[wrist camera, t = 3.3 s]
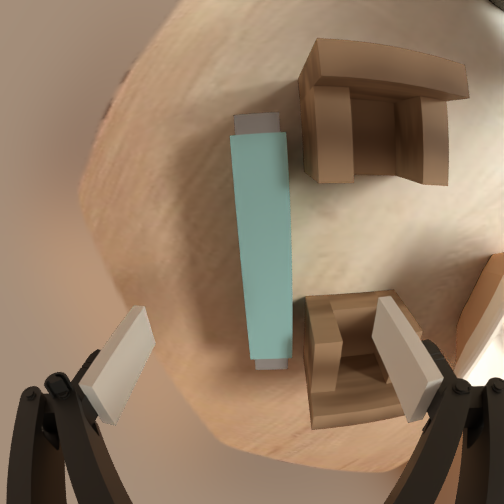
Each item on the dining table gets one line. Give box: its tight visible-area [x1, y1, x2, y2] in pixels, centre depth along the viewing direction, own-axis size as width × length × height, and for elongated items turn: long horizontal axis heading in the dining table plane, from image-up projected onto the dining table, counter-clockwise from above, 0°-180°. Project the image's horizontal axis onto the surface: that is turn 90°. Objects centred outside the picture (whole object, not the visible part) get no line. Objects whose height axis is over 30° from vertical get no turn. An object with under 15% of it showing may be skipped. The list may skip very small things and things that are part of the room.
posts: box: [298, 38, 469, 430], centre depth 22 cm, size 31×10×11 cm, turn 4°
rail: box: [230, 112, 292, 370], centre depth 25 cm, size 23×4×6 cm, turn 4°
